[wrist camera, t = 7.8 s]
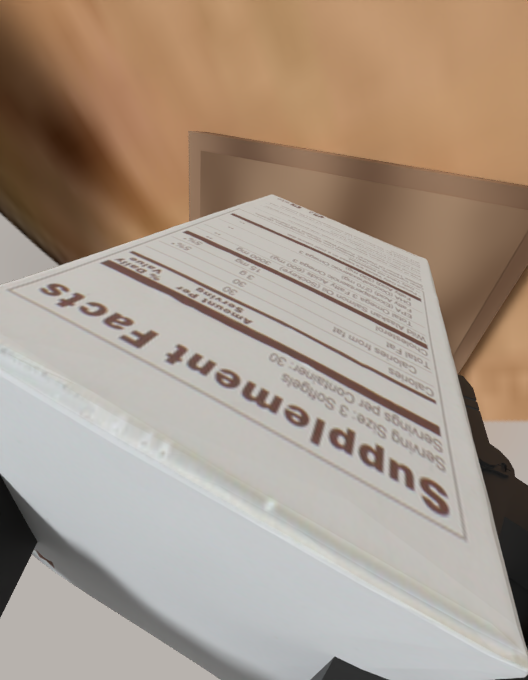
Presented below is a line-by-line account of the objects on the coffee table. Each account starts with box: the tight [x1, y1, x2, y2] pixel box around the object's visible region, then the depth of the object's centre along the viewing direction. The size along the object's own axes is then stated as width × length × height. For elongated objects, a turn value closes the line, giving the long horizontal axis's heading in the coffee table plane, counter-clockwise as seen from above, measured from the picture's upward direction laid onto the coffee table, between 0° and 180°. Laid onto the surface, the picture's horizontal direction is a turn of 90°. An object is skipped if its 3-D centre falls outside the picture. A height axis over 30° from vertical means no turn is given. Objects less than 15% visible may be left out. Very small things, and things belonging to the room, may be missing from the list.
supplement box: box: [0, 194, 528, 680], centre depth 10 cm, size 7×7×13 cm
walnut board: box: [189, 131, 528, 374], centre depth 19 cm, size 18×11×2 cm, turn 81°
